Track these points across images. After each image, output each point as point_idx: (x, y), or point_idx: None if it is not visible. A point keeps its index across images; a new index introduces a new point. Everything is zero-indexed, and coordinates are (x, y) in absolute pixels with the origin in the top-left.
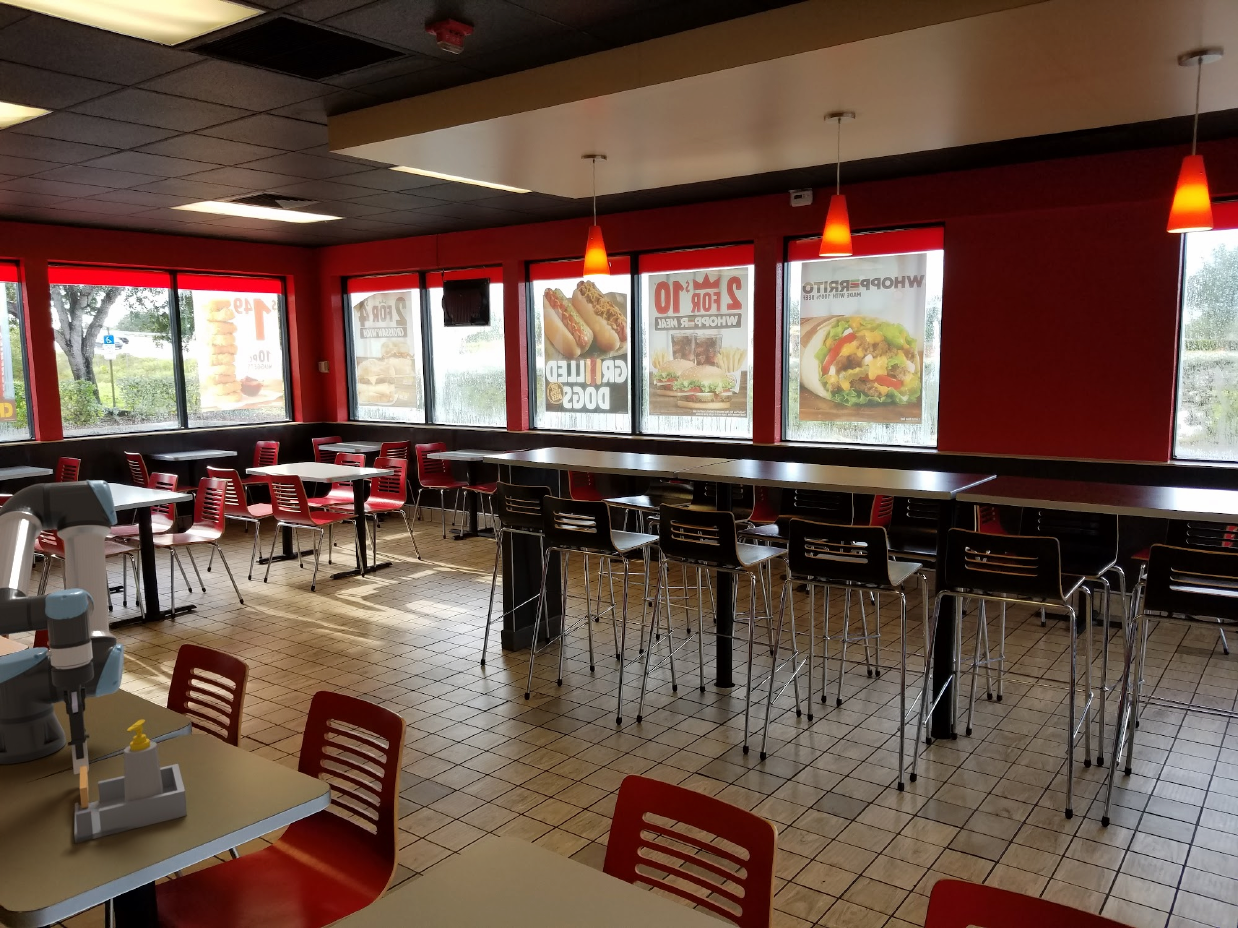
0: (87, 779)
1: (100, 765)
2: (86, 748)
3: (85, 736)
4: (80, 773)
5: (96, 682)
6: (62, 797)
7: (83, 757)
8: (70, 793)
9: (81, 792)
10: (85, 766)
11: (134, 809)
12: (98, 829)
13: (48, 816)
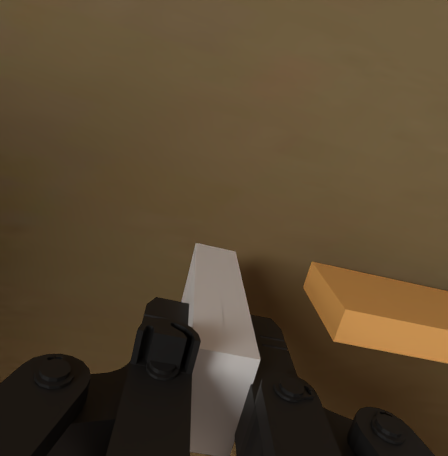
0: (404, 300)
1: (9, 126)
2: (249, 324)
3: (192, 371)
4: (436, 358)
5: None
6: (291, 343)
7: (272, 324)
8: (275, 313)
9: None
10: (354, 317)
11: None
12: None
13: (427, 407)
